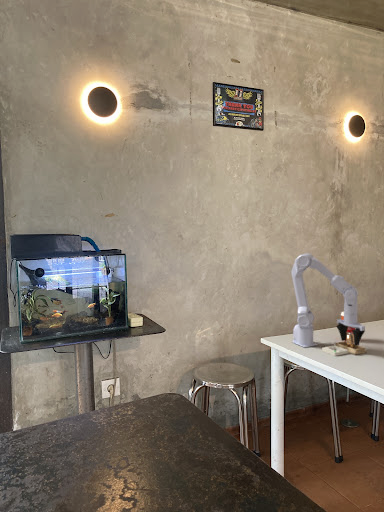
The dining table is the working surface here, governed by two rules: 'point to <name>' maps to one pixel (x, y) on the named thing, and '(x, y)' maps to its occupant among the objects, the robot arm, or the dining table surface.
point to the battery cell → (350, 340)
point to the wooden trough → (354, 351)
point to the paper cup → (348, 327)
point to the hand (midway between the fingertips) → (350, 342)
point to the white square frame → (335, 353)
